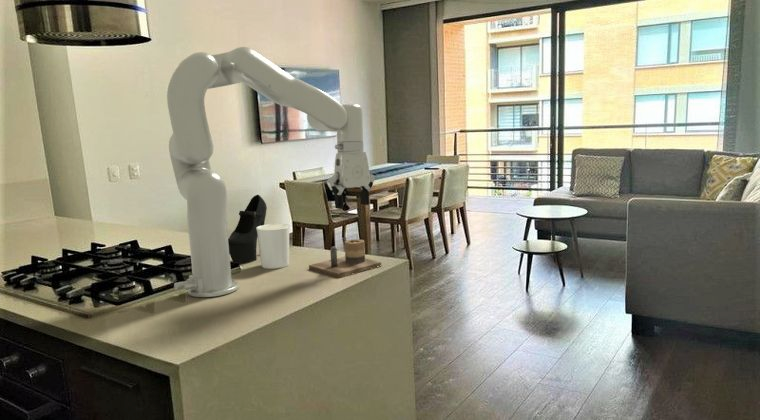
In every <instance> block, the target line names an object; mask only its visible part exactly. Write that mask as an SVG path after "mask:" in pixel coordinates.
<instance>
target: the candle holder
mask: <svg viewBox="0 0 760 420" xmlns="http://www.w3.org/2000/svg"><path fill="white" fill-rule="evenodd" d="M256 230H257V236H258V237H257V245H258V249H259V258H260V263H261V264H260V265H261V267H262V268H264V269H269V270H271V269H273V270H274V269H282V268H285V267H288V266H289V264H290V225H289V224H287V223H286V224H285V223H270V224H269V223H268V224H264V225H262V226H258V227H257V228H256Z"/></svg>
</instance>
